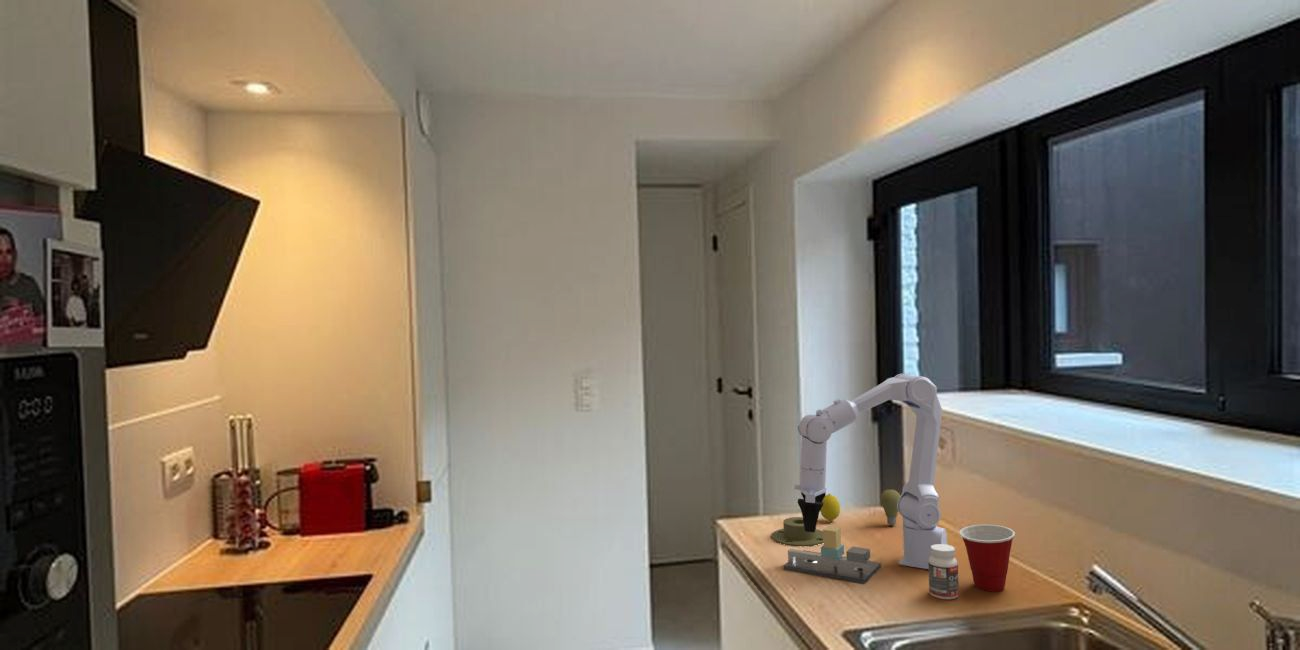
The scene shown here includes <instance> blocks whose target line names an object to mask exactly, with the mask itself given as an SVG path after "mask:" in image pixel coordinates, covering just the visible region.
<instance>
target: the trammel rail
mask: <svg viewBox="0 0 1300 650" xmlns="http://www.w3.org/2000/svg"><path fill="white" fill-rule="evenodd" d="M807 551H808V550H805V551H803V550H800V549H794V548H790V549H788V550H787V559H788V560H787V562H794V561H796V557H798V558H804V559H810V560H816V561H822V562H828V563H834V564H840V565H845V566H851V567H857V568H859V569H863V575H869V574H870V573H871V571H870V562H869V561H870V559H871V549H870V548H866V547H859V546H858V547H857V546H851V547H850V548H848V549H847V550H846V552H845V553H846V557H847V558H844V557H845V556H842V557H840V558H839V559H835V558H829V557H823V556H821V554H820V553H821V552H817V553H813V552H814V551H811V552H807Z"/></svg>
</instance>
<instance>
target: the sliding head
mask: <svg viewBox="0 0 1300 650" xmlns="http://www.w3.org/2000/svg"><path fill="white" fill-rule="evenodd" d="M822 531H823V543H824V544H822V546H821V547H820V553H821V556H823V557H829V558H835V559H839V558H840V557H841V556H842V557H843V555H844V554H845V545H843V544H842V540H841V539H842V535H841V533H842V532H841V527H835V526H826V527H825V528H824V529H822ZM834 565H837V564H834Z"/></svg>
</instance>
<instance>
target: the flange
mask: <svg viewBox="0 0 1300 650" xmlns="http://www.w3.org/2000/svg"><path fill="white" fill-rule="evenodd" d="M770 537H771V539H773V540H774V542H775V541H776V542H775V543H777V542H778V543H777V544H780V543H781V544H780V545H783V544H785V545H784V546H788V545H791V546H790V547H796V546H809V547H815V546H814V545H817V546H819V545H818V544H821V545H823V544H822V543H823V530H820V529H818V528H816V529H815V532H806V531H805V529H804V523H803V516H793V517H792V516H791V517H788V518H785V519H783V528H780V529H779V528H778V529H776V530H775V531H773V532H771V535H770ZM773 540H772V541H773Z"/></svg>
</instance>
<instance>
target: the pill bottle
mask: <svg viewBox="0 0 1300 650" xmlns="http://www.w3.org/2000/svg"><path fill="white" fill-rule="evenodd" d="M931 553H932V556H930V558H929V560H928V566H929V569H928V592H929V593H930V595H931V596H932V597H934V598H936V599H941V600H954V599H955V600H956V598H958V597H959V589H960V588H959V587H960V586H959V563H958V560H957V559H956V558H955V555H956V549H955V547H954V546H952V545H951V544H947V545H946V544H935V545H932V546H931Z"/></svg>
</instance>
